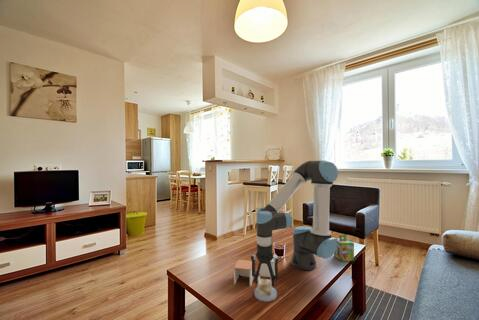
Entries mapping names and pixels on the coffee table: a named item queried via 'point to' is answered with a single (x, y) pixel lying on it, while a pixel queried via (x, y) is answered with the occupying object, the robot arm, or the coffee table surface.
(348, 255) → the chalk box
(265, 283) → the block
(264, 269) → the pale green cube
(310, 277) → the coffee table surface
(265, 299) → the dish
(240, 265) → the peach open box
